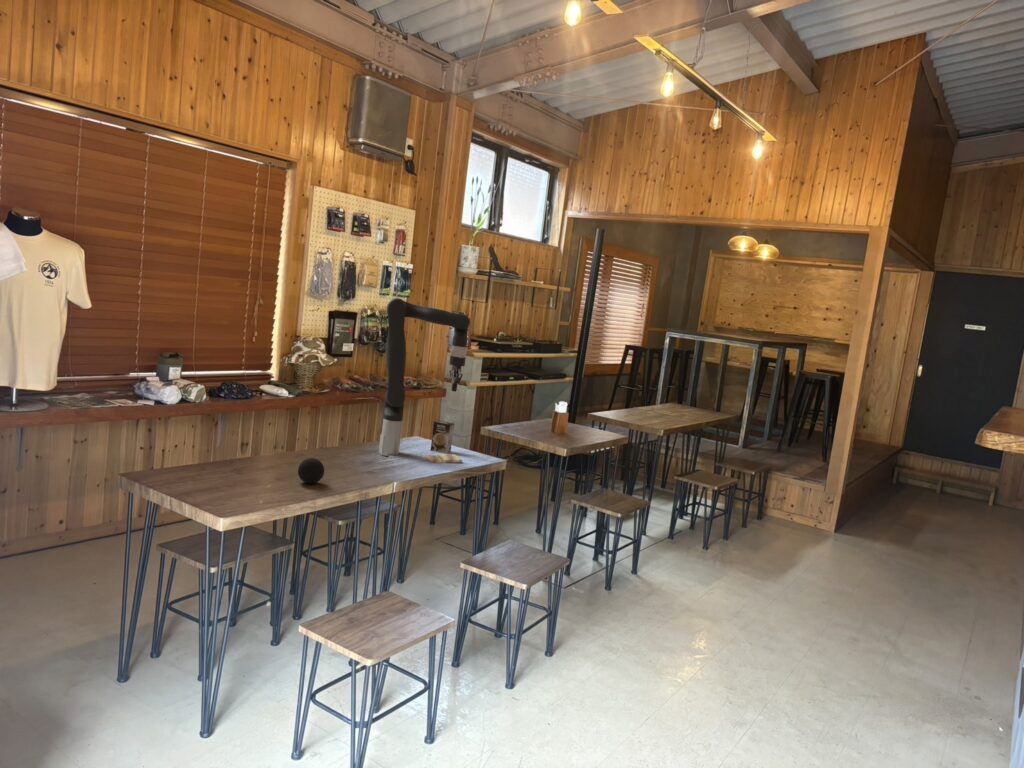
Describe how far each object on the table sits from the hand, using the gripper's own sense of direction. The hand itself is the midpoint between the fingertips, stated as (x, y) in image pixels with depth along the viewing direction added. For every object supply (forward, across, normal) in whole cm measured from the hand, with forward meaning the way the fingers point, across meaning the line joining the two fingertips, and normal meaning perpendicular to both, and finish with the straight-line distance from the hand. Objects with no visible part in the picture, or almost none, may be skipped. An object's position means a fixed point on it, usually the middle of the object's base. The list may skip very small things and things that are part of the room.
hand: (453, 391), depth 351 cm
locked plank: (+33, +5, -8) cm, 35 cm away
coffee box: (+34, -14, +2) cm, 37 cm away
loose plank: (+33, +5, 0) cm, 33 cm away
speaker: (+35, +45, -71) cm, 91 cm away
